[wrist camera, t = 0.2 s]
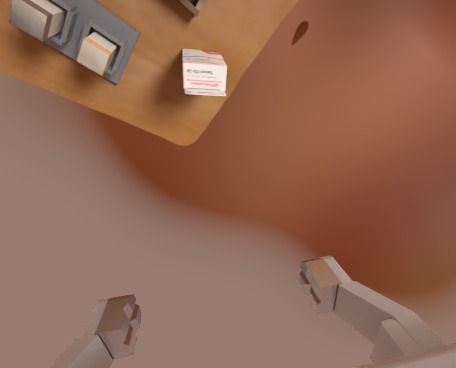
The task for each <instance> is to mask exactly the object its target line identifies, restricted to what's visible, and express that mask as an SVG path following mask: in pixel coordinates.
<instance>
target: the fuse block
mask: <svg viewBox="0 0 456 368" xmlns="http://www.w3.org/2000/svg"><path fill="white" fill-rule="evenodd" d="M52 1H54V2H55V3H57V4H58V5H60V6H61V7H63V8H64V9H66V10H67V15H66V19H65V23H64V27H63V31H61V32H59V33H57V34H55V35H53V36H51V37H49V38H47V39H46V40H44V41H42V42H44V43H46V44H48V45H49V46H51V47H53V48H55V49H56V50H58V51H60V52H62V53H63V54H65V55H67V56H69V57H70V58H72V59H74V60H76V61H77V58H78V55H79V51H80V48H81V45H82V42H83V39H84V38H86V37H88V36H89V35H91V34H92V33H94V32H95V31H99V32H100V33H102V34H103V35H105V36H106V37H108V38H109V39H111V40H112V41H114V42H115V43H117V44H118V45H119V46H118V48H117V51H116V53H115V56H114V58H113V61H112V62H111V64H110V65H109V66H108V68H107V69H106V70H105V72H104V74H103V75H102V76H103V77H105V78H107V79H109V80H110V81H112V82H114V83H116V84H118V82H119V80H120V78H121V75H122V73H123V71H124V68H125V66H126V64H127V62H128V59H129V57H130V55H131V52H132V50H133V48H134V46H135V43H136V41H137V39H138V36H139V34H140V33H139V32H138V31H136V30H135V29H134V28H132V27H131V26H130V25H128V24H127V23H125V22H124V21H123V20H121V19H120V18H119V17H117V16H116V15H115V14H113V13H112V12H110V11H109V10H108V9H106V8H105V7H104V6H102V5H101V4H100V3H98V2H97V1H95V0H52Z"/></svg>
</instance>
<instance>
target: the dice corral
mask: <svg viewBox="0 0 456 368" xmlns="http://www.w3.org/2000/svg"><path fill="white" fill-rule="evenodd" d="M179 1H180V2H181V3H182V4H183V5H184V6H185V7H187V8H188V9H189V10H190V11H191V12H192V13H193V14H194V15H195V16H198V14H199V12H200V10H201V8H202V6H203V5H204V3H205V1H206V0H197V2H196V4H195V6H194V5H193V4H192V3H191V2H190V1H189V0H179Z"/></svg>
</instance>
